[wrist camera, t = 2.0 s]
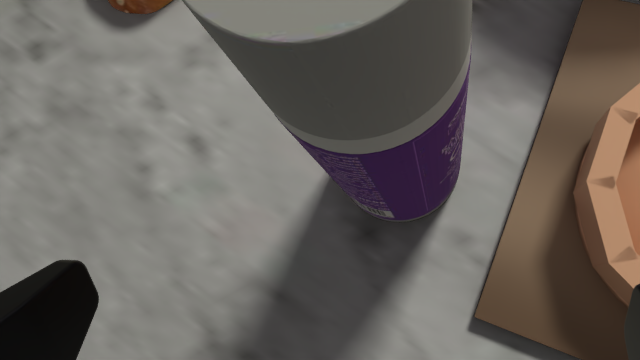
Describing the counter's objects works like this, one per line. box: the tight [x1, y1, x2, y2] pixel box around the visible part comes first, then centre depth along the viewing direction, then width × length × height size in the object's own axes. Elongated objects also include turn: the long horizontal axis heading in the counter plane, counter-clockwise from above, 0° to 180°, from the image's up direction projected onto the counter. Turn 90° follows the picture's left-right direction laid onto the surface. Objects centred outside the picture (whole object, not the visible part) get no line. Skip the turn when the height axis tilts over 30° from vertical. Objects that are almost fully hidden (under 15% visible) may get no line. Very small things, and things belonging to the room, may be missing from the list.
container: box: [182, 0, 472, 222], centre depth 14 cm, size 5×5×15 cm
